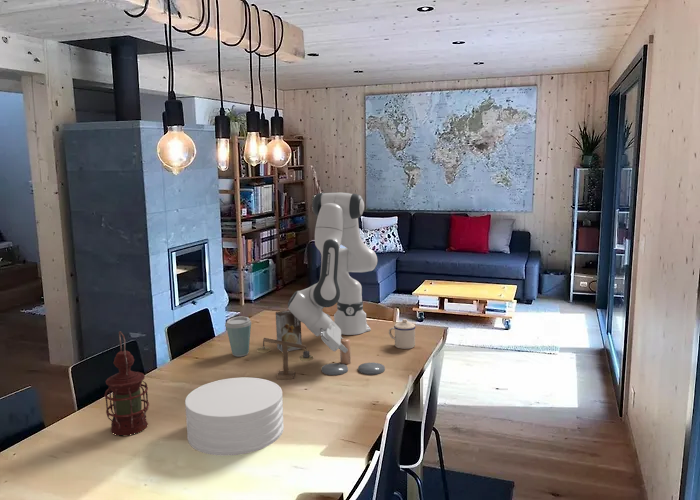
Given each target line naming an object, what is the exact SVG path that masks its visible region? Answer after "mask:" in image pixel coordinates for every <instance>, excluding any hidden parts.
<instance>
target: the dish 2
mask: <svg viewBox="0 0 700 500" xmlns="http://www.w3.org/2000/svg"><path fill="white" fill-rule="evenodd" d="M385 370H386V367H385V365H383V364H382V363H379V362H365V363H362V364H359V365H358V369H357V371H358V372H359V373H361V374H363V375H372V376H373V375H374V376H375V375H380V374H382V373H384V372H385Z"/></svg>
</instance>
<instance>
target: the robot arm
mask: <svg viewBox="0 0 700 500" xmlns="http://www.w3.org/2000/svg"><path fill="white" fill-rule="evenodd" d="M311 206H312V212H313V214H314V215H315V216H316V217H317V219H316V222H315V223H316V224H315V228H314V245H315V247H316V248H317V250H318V251H319V252H320V254H321V255H320V256H321V263H320V264H321V265H320V266H321V267H320V275H319V280H318V282H317V283H314V284H312V285H310V286H309V287H307V288H304V289H301V290H296V291H295V292H294V293H293V294H292V295H291V296H290V299H289V300H288V302H287V308H288V310H290V311H291V313H292V314H293V315H294V316H295V317H296V318H297V319H298V320H299V321H301V323H302V324H304V326H305V327H306V328H307V329H308V330H309V331H310V332H311V333H312V334H313V335H314V336H316V337H320V338H321V340H322V342H323V343H324V344H325V345H326V346H327V347H328V348H329V349H330V350H331V351H333V352H336V351H337V350H339V351H340V350H342V351H343V352H344V353H346V352H347V351H348V348H347V347H346V346H344V345H342V343H341V339H344V338H343V337H342V335H346V336H352V335H355V336H356V335H360V334H364V333H367V332H370V331H371V330H372V329H371V327H370V326H369V325H368V323H367V313H366V312H365V311H364V301H363V296H362V294H363V288H362V287H363V286H362V284H361V282H359V281H358V280H357V279H355V278H353V277H352V276H350V273H367V272H372V271H374V269H376V267H377V265H378V256H377V254H376V252H375V251H374V250H373V249H372V248H370V247H369V246H367V244H365V242H364V241H363V239H362V237H361V234H360V227H359V225H360V224H359V218H361V217H362V216H363V213H364V211H365V202H364V198H363V197H362V196H361V195H360V194H357V193H349V192H341V191H340V192H319V193H317V194H315V195H314V197H313V199H312V205H311ZM341 246H343V247H341ZM344 247H345V248H344ZM335 305H336V308H337V310H336V312H334V314H333V319H332V317H331V315H329V314H328V313H326V312H324V308H331V307H333V306H335Z"/></svg>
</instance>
